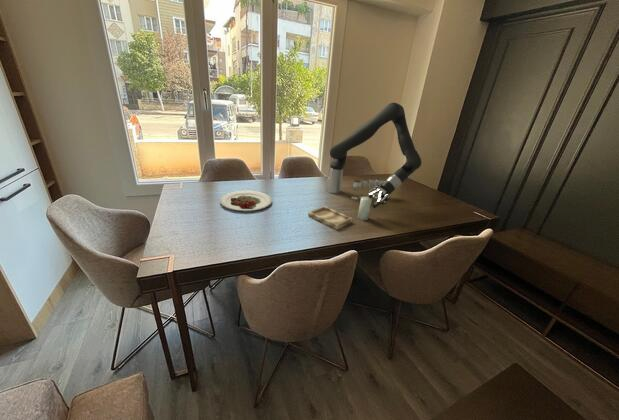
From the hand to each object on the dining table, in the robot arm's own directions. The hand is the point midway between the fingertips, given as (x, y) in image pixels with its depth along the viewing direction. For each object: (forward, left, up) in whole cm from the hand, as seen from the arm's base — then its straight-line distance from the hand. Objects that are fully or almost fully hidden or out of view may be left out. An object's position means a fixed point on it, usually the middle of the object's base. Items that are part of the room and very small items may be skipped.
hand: (369, 203), depth 143 cm
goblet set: (-16, +30, -9) cm, 35 cm away
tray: (-12, -19, -9) cm, 24 cm away
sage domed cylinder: (-1, -2, -9) cm, 9 cm away
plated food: (-58, -42, -9) cm, 73 cm away
